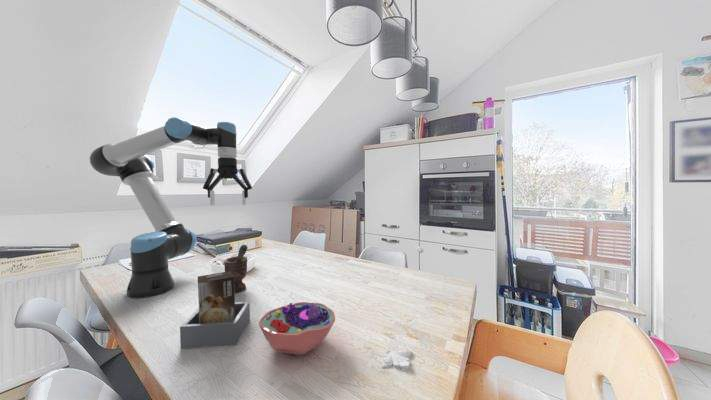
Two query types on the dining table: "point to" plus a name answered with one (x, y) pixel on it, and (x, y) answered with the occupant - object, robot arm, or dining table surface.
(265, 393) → the dining table surface
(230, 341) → the open square bin
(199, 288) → the coffee box
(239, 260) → the mortar and pestle
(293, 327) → the cell model
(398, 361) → the acanthus leaf ornament
